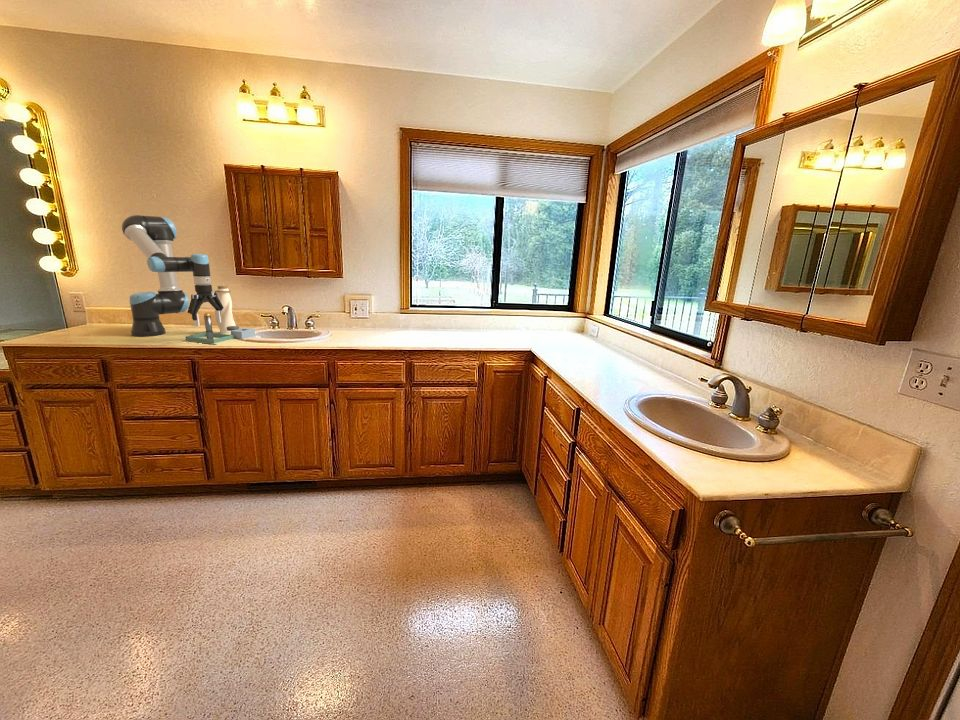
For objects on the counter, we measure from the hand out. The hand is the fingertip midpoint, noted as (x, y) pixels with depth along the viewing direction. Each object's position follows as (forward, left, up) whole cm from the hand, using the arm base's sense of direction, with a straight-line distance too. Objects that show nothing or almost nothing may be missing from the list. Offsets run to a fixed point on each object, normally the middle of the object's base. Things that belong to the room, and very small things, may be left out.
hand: (208, 324), depth 219 cm
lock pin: (0, 0, -9) cm, 9 cm away
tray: (0, 0, -9) cm, 9 cm away
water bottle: (-7, +18, -10) cm, 22 cm away
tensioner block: (+7, +12, -9) cm, 17 cm away
